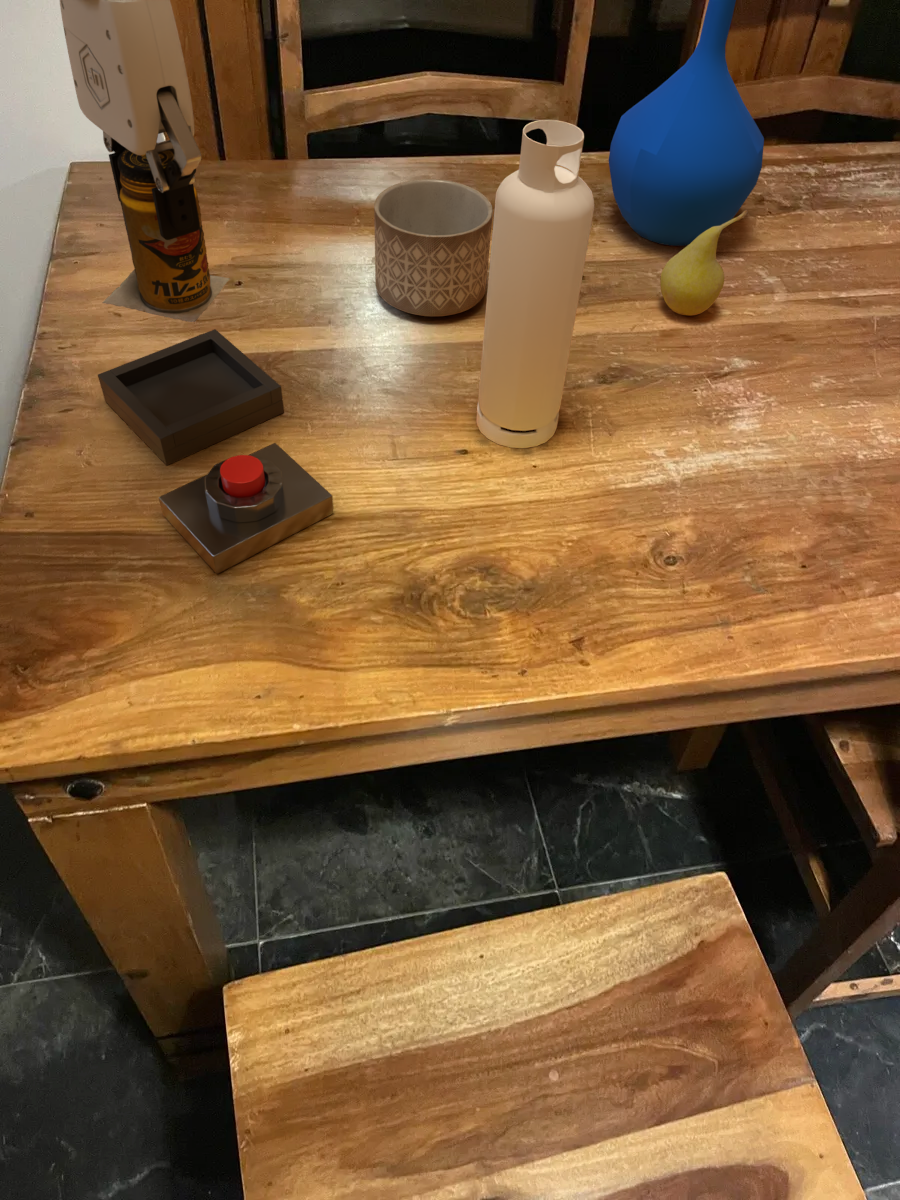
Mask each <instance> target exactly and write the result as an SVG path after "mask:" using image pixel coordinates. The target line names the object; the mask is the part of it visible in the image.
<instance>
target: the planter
mask: <svg viewBox="0 0 900 1200" xmlns="http://www.w3.org/2000/svg"><path fill="white" fill-rule="evenodd" d="M373 210H374V213H373V215H374V274H375V275H374V281H375V288H376V291H377V293H378V295H379V296H380V297H381V299H382V300H383V301H384V302H386V303H387V304H388V305H390V306H391V307H393V308H395V309H397V310H399V311H402V312H404V313H408V314H412V315H415V316H424V317H445V316H452V315H456V314H460V313H463V312H465V311H468V310H470V309H472V308H473V307H475V306H476V305H477V304H479V303H480V302H481V300H482V299H483V298H484V296H485V294H486V292H487V285H488V273H489V262H490V250H491V238H492V235H491V234H492V226H493V215H494V209H493V205H492V203H491V201H490V200H489V199H488V197H487V196H486V195H484V194H483V193H482V192H481V191H479V190H477V189H476V188H473V187H471V186H470V185H467V184H463V183H461V182H456V181H453V180H447V179H439V178H420V179H419V178H418V179H410V180H405V181H402V182H398V183H395V184H393V185H390V186H389V187H387V188H385V189H384V190H382V191H381V192H380V193H379V194H378V195H377V197H376V198H375V200H374V205H373Z"/></svg>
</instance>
